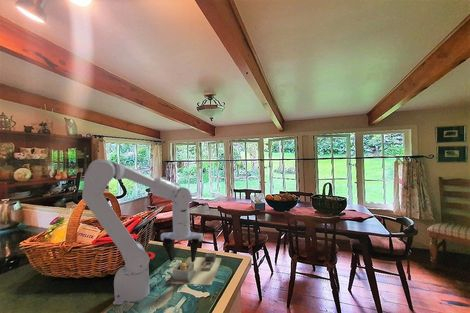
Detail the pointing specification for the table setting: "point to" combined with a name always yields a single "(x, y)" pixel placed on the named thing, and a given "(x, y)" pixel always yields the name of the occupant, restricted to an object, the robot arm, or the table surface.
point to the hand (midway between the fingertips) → (182, 260)
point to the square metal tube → (183, 272)
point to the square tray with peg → (183, 267)
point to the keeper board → (203, 269)
